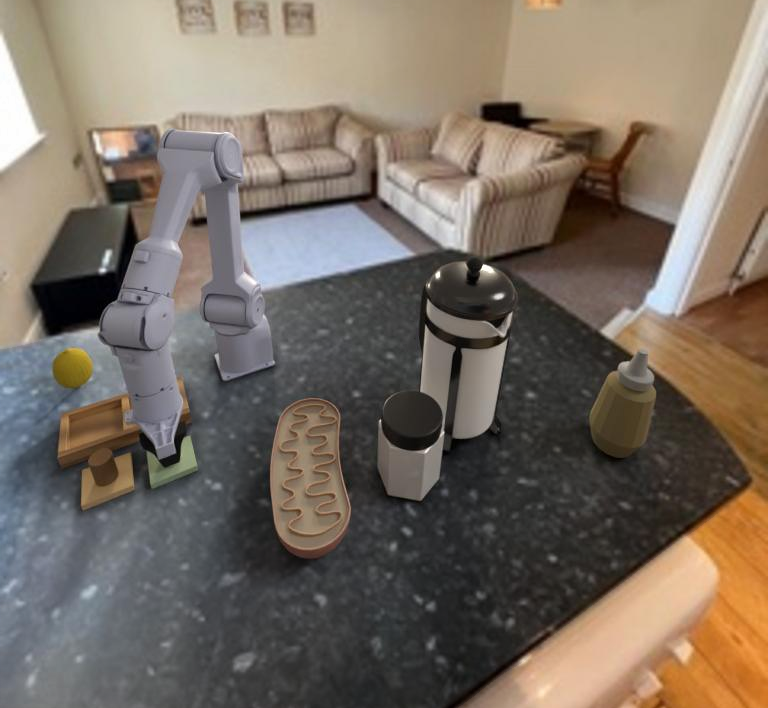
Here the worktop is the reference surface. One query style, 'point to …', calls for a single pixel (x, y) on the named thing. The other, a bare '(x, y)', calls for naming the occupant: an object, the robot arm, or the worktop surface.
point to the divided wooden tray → (102, 428)
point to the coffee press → (465, 344)
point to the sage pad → (175, 471)
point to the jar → (410, 444)
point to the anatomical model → (308, 479)
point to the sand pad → (111, 490)
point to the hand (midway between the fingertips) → (170, 453)
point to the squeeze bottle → (624, 408)
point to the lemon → (72, 368)
